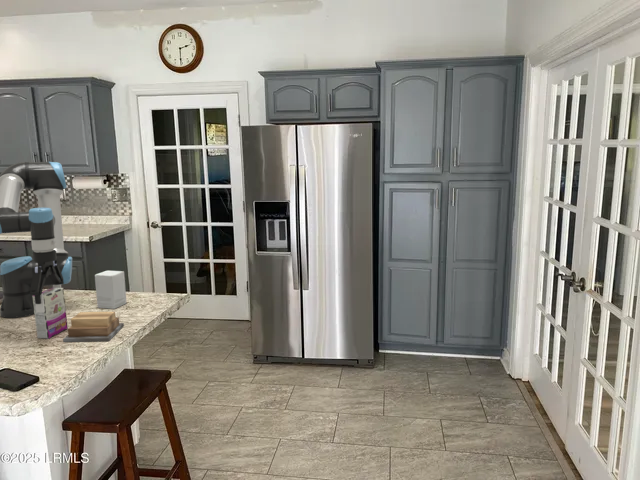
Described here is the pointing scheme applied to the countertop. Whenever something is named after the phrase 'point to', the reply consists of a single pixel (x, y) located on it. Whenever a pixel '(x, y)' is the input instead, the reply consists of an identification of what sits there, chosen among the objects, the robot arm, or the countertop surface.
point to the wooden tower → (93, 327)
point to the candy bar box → (51, 314)
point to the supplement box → (110, 289)
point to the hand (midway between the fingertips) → (49, 306)
